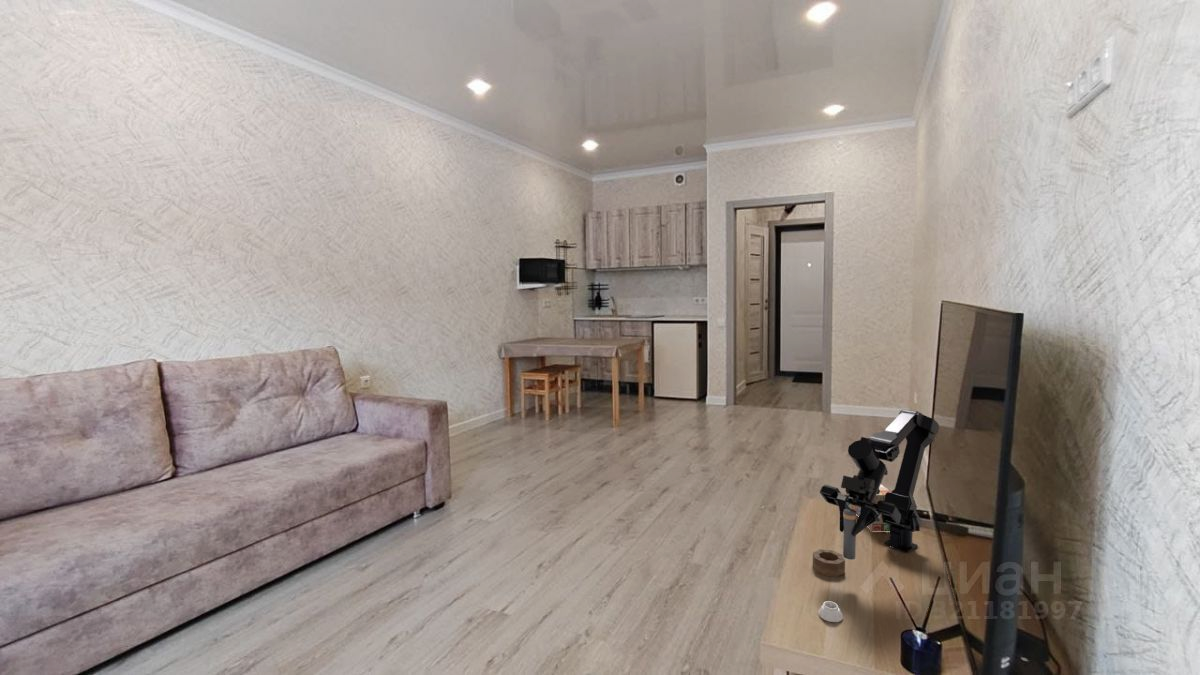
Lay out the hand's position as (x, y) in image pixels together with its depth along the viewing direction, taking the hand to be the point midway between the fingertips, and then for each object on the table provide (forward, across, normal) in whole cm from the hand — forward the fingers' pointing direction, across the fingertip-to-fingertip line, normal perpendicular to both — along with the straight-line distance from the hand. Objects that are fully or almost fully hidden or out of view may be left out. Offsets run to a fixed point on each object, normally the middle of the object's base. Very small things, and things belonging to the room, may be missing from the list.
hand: (846, 533), depth 134 cm
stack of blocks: (-20, -15, +40) cm, 48 cm away
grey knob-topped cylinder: (+4, 0, +6) cm, 7 cm away
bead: (+7, -7, +12) cm, 16 cm away
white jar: (+21, +4, -1) cm, 21 cm away
